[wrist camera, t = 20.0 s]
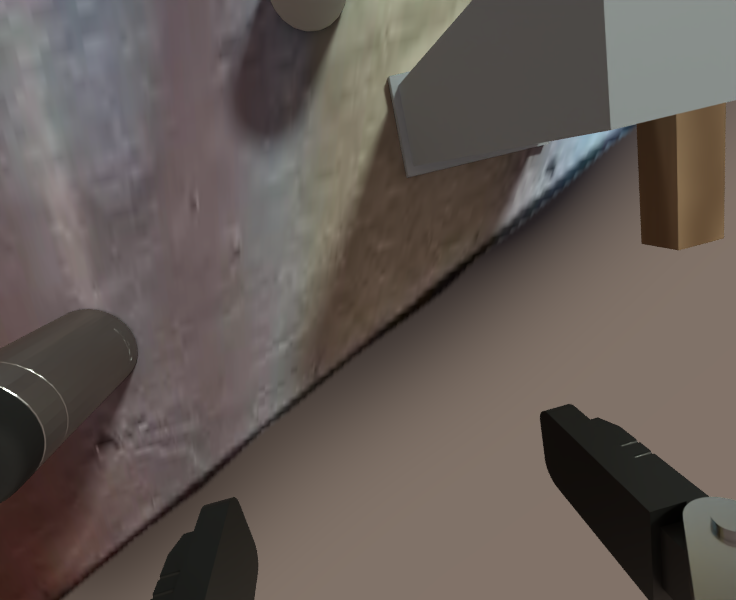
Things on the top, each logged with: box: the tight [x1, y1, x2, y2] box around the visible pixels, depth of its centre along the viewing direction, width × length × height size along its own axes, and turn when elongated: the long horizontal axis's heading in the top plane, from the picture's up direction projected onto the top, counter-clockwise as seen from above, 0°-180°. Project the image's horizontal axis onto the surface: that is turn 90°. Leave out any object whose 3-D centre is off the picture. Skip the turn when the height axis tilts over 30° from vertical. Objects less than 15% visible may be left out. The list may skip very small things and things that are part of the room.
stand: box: [388, 0, 736, 177], centre depth 30 cm, size 16×10×32 cm, turn 103°
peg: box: [637, 102, 726, 250], centre depth 24 cm, size 5×16×5 cm, turn 13°
